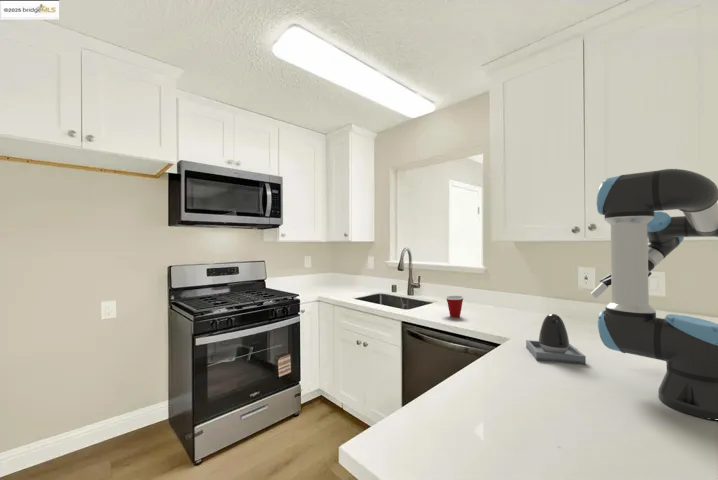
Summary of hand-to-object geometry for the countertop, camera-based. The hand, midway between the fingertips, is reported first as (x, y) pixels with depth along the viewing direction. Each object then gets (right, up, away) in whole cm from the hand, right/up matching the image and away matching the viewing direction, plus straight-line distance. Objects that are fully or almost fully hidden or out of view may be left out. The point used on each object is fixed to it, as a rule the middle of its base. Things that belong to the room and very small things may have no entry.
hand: (604, 298), depth 125 cm
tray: (-21, -22, -1) cm, 30 cm away
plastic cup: (-39, -24, +69) cm, 82 cm away
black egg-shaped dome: (-21, -21, -1) cm, 30 cm away
